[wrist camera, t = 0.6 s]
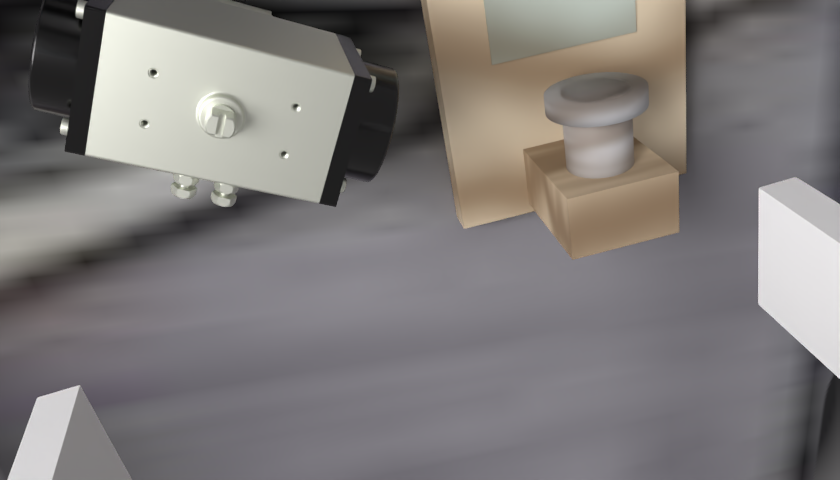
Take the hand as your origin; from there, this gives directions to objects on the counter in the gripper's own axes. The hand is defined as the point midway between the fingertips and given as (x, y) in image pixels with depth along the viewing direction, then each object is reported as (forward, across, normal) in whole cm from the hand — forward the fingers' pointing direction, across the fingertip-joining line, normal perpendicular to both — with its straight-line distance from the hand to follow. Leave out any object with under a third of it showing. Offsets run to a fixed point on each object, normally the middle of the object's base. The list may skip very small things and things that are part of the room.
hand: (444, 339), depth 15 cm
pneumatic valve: (+24, -4, +1) cm, 24 cm away
